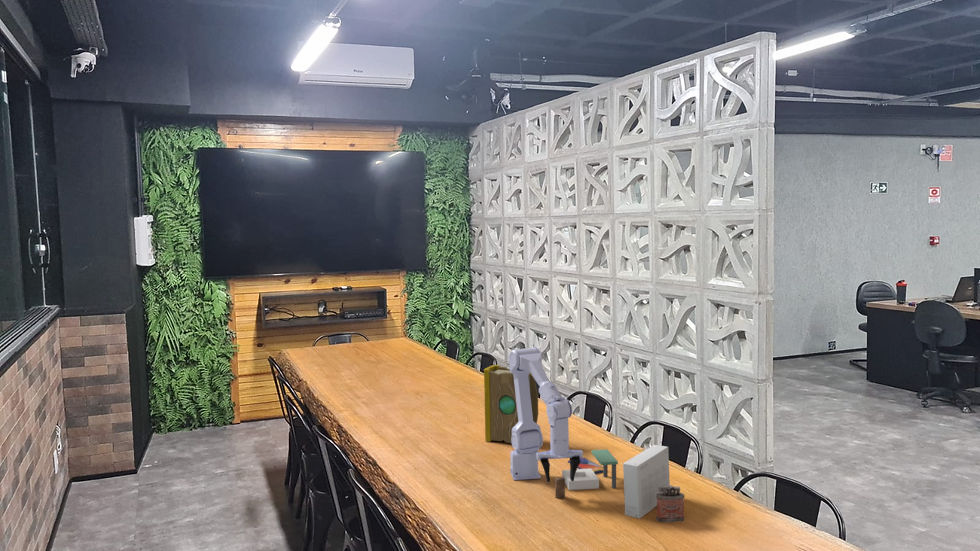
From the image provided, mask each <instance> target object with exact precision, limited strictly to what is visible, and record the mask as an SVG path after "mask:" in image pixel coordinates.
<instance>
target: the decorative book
mask: <svg viewBox="0 0 980 551" xmlns="http://www.w3.org/2000/svg"><path fill="white" fill-rule="evenodd" d="M483 379H484V380H483V384H484V386H483V389H484V432H485V433H484V434H485V436H484V437H485V442H490V443H491V441H495V442H496V441H497V442H504V443H509V444H511V445H512V443H511V437H512V428H513V427H514V426H515V425H516V424H517V423H518V413H517V403H516V394H515V385H514V376H513V374H512V373H510V368H507V367H505V366H500V365H499V364H492V365H490V366H487V367H486V368H484V369H483ZM528 379H529V388H530V397H531V406H532V415H533V421H534V422H535V423H537V424H538V418H539V394H538V393H539V392H538V389H537V382H536V380H535V379H534V377H533V376H532V374H531V373H529V375H528ZM531 430H532V429H531ZM525 431H529V430H525ZM522 432H523V431H522Z"/></svg>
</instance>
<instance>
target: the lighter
mask: <svg viewBox="0 0 980 551" xmlns="http://www.w3.org/2000/svg"><path fill="white" fill-rule="evenodd" d="M659 492H663V493H658V494H656V498H657V506H656V520H655V521H657V522H660V523H679V522H678V521H680V522H684V521H685V515H684V514H685V511H684V508H685V506H684V505H685V504H684V503H685V502H684V500H685V494H684V493H683V492H681V487H680V486H674V485H672V484H670V486H669V487H667V486H663V487H659ZM666 492H667V493H666Z"/></svg>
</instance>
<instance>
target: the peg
mask: <svg viewBox="0 0 980 551" xmlns="http://www.w3.org/2000/svg"><path fill="white" fill-rule="evenodd" d="M554 482H555V483H554V486H555V488H554V490H555V491H554V493H555V494H554V498H555V499H558V500H563V499H565V497H566V484H565V478H563V477H562V476H557V477H555V479H554Z"/></svg>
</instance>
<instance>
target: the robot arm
mask: <svg viewBox="0 0 980 551" xmlns="http://www.w3.org/2000/svg"><path fill="white" fill-rule="evenodd" d="M542 362H543V356H542V352H541V350H540V348H538V347H537V346H533V347H527V348H518V349H515V348H514V349H511V351H510V352H509V355H508V364H509V366H508V367H509V369H510V373H512V374H513V376H514V385H515V394H516V403H517V413H518V423H517V424H516V425H515V426H514V427H513V428H512V437H511V443H512V444H511V443H510V444H511V446H512V448H513V450H510V453H509V455H510V458H509V460H510V468H509V469H510V472H509V473H510V474H511V477H512V479H513V481H519V480H520V481H521V480H538V479H541V478H542V476H541V474H540V472H539V461H540V464H541V466H542V467H543V471H544V474H545V480H546V482H547V483H548V484H550V483H551V476H550V475H551V474H550V466H551V463H550V460H558V459H561V460H562V459H569V460H570V464H569V466H570V467H569V470H570V479H571V481H574V477H575V473H576V470H577V469H578V466H579V464H580V458H584V451H583V450H582V449H570V445H569V444H570V443H569V442H570V439H569V436H570V435H569V428H570V427H569V418H571V416H572V414H573V408H572V407H573V406H572V403H571V402H570V400H568V399H567V398H565V397H564V396H562V394H561V392H560V391H559V389H558V387H557V386H556V384H555V383H554V382H553V381H550V380H549V378H548V375H547V373H546V371H545V369H544V366H543V365H542ZM529 373H531V374H532V376H533V377H534V379H535V383H536V384H537V385H538V386H539V387H538V393H539V395H540V397H541V399H542V400H543V402H544V404H545V406H546V409H545V412H546V415H547V420H548V424H549V425H550V426H549V429H550V430H549V431H550V433H549V435H550V438H549V439H550V443H549V444H550V450H545V451H540V449H541V447H542V446H543V443H544V436H543V435H544V434H543V433H542V430H541V426H540V425H539V424H538V422H537V423H535V422H534V421H533V415H532V406H531V397H530V388H529V379H528V375H529ZM531 429H532V430H531ZM525 430H529V431H525ZM522 431H523V432H522ZM539 451H540V452H539Z"/></svg>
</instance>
